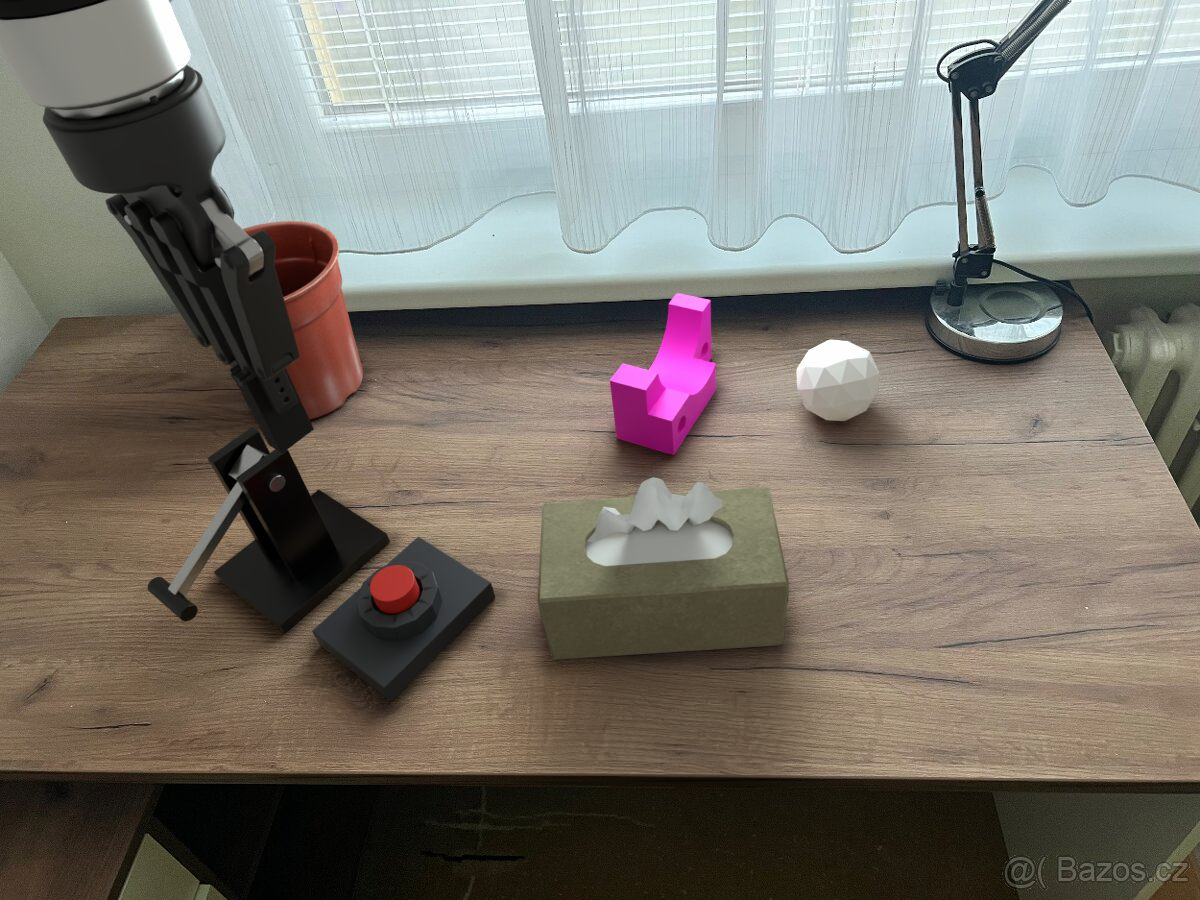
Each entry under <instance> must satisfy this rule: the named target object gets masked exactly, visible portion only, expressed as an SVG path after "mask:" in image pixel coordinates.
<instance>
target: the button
mask: <svg viewBox="0 0 1200 900" xmlns="http://www.w3.org/2000/svg"><path fill="white" fill-rule="evenodd" d="M370 592H371V595H372V597H373V599H374V601H375V603H376V605H377V607H378V608H379V609H380V610H381V611H383V612H385V613H388V614H397V613H401V612H404V611H406V610H408V609H409V608H411V607H412V606H413V605H414V604H415V602H416V601H417V599H418V597H419V586H418V584H417V581H416V579H415V576H414V574H413V572H412V571H411V570H410V569H409V568H407V567H405V566H401V565H394V566H389V567H386V568H384V569H382V570H381V571H379V572H378V573H377V574H376V575H375V576H374V578H373V579H372V581H371V584H370Z"/></svg>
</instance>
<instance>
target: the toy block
mask: <svg viewBox="0 0 1200 900" xmlns="http://www.w3.org/2000/svg"><path fill="white" fill-rule="evenodd" d="M711 302H712V300H711V299H706V298H702V297H699V296H698V297H697V296H692V295H689V294H688V295H687V294H684V293H679V292H676V294H675V295H674V296H673V297H672V299H671V300H670V301H669V303H668V312H667V321H666V326H665V331H664V334H663V338H662V342H661V344H660V347H659V350H658V353H657V355H656V356H655V359H654V360H653V362H652V364H651V365H650V367H649V369H646V368H641V367H638V366H634V365H630V364H626V363H622V364H621V365H620V366H619V368H618V369H617V371H615V373H614V374H613V375H612V377H611V378H610V380H609V386H610V395H611V404H612V411H613V421H614V428H615V435H616V439H618V440H622V441H625V442H627V443H631V444H635V445H637V446H642V447H645V448H648V449H651V450H654V451H655V450H656V451H658V452H661V453H664V454H667V455H672V456H675V454H676V453H677V451H678V450H679V449H680V447H681V445H682V443H684V440H685V439H686V437H687V436H688V434H689V433H690V432H691V430H692V428H693V427H694V425H695V423H696V422H697V420H698V419H699V417H700V416H701V414H702V412H703V411H704V410H705V408H706V406H707V405H708V403H709V401H710V400H711V398H712V397H713V395H714V394H715V392H716V390H717V371H716V370H717V363H715V362H712V361H711V359H712V306H711V305H712V304H711Z"/></svg>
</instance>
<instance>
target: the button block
mask: <svg viewBox="0 0 1200 900" xmlns="http://www.w3.org/2000/svg"><path fill="white" fill-rule="evenodd" d="M394 565H401V566H405V567H407V568H409V569H410V570H411V571H412V572H413V574H414V576H415V579H416V581H417V584H418V586H419V597H418V599H417V601H416V602H415V604H414V605H413V606H412V607H411V608H409V609H408V610H406V611H404V612H401V613H397V614H388V613H385V612H383V611H381V610H380V609H379V608H378V607H377V605H376V603H375V601H374V599H373V597H372V595H371V592H370V584H371V581H372V579H373V578H374V576H375V575H376V574H377V573H378V572H379V571H381V570H382V569H384V568H386V567H389V566H394ZM495 599H496V595H495V591H494V587H493V584H492V582H491V581H490V580H488V579H486V578H485V577H483V576H482V575H480V574H479V573H477V572H475V571H474V570H472V569H471V568H469V567H467V566H466V565H465V564H463V563H461V562H460V561H458V560H457V559H456V558H455V559H454V558H453V557H451V556H450V555H449V554H447V553H445V552H443V551H442V550H440V549H439V548H437V547H436V546H434V545H433V544H431V543H429V542H428V541H427V540H425V539H424V538H422V537H420V536H417V537H416V538H415V539H414V540H412V541H411V542H410V543H409V544H408V545H407V546H406V547H405V548H403V549H402V551H400V552H399V553H398V554H397V555H395V557H393V558H392V559H391V560H390V561H389V562H388V563H386V565H384V566H382V567H379V568H377V570H375V571H374V572H373V573H372V574H371V575H370V576H369V577H367V578H366V579H365V580H364V581H363V582H362V584H361V586H360V588H358V589H357V590H356V591H355V592H354V593H353V594H352V595H350V597H348V598H347V599H346V600H345V601H344V602H342V604H340V605H339V606H338V607H337V608H336V609H335V610H334V611H333V612H331V614H329V615H328V616H327V617H326V618H325V619H324V620H323V621H321V622H320V623H319V624H318V625H317V626H316V627H315V628H313V629H312V630H311V632H312V634H313V637H314V638H315V639H316V640H317V643H318V644H319V646H320V647H321V648H322V649H324V650H325V651H326V652H328V653H329V654H330V655H331V656H332V657H334V658H335V659H336V660H338V661H339V662H340V663H341V664H342V665H344V666H345V667H346V668H348V669H349V670H350V671H351V672H353V673H354V674H355V675H356V676H358V678H360V679H362V681H364V682H365V683H367V684H368V685H369V686H370V687H372V688H373V689H374V690H375V691H377V692H378V693H379V694H380V695H382V696H383V697H384V698H385V699H387V700H388V701H389V702H393V701H394V700H395V699H396V698H398V696H399V695H400V694H401V693H402V692H403V691H404V690H405V689H406V688H407V687H408V686H409V685H410V684H411V683H412V682H413V681H414V680H415V679H416V678H417V677H418V676H419V675H420V674H422V672H423V671H424V670H425V669H426V668H427V667H428V666H429V665H430V664H431V663H432V662H433V661H434V660H435V659H436V658H438V656H440V655H441V653H442V652H443V651H444V650H445V649H446V648H447V647H448V646H449V645H450V644H451V643H452V642H454V641H455V639H456V638H457V637H458V636H459V635H460V634H461V633H462V632H463V631H464V630H465V629H466V628H467V627H468V626H469V625H471V623H472V622H474V621H475V619H477V618H478V616H479V615H480V614H481V613H482V612H483V611H484V610H485V609H487V608H488V606H489V605H490V604H491V603H492V602H493V601H494V600H495Z"/></svg>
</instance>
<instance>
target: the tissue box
mask: <svg viewBox="0 0 1200 900" xmlns="http://www.w3.org/2000/svg"><path fill="white" fill-rule="evenodd" d="M539 544H540V545H539V564H538V565H539V566H538V584H537V585H538V586H537V605H538V609H539V613H540V617H541V620H542V623H543V628H544V631H545V636H546V639H547V643H548V648H549V651H550V655H551V658H552V659H553V660H568V659H569V660H570V659H583V658H584V659H586V658H602V657H615V656H617V657H618V656H631V655H646V654H647V655H648V654H662V653H663V654H665V653H680V652H695V651H708V650H709V651H711V650H725V649H740V648H743V649H744V648H757V647H772V646H773V647H774V646H782V645H783V644H784V643H785V634H786V622H787V610H788V602H789V590H790V589H789V588H790V582H789V577H788V572H787V568H786V563H785V557H784V553H783V547H782V543H781V539H780V533H779V529H778V523H777V518H776V513H775V509H774V503H773V499H772V493H771V488H769V487H768V486H762V487H761V486H759V487H747V488H746V487H745V488H732V489H720V490H718V489H717V490H711V489H710V488H709V486H708V485H707V484H706V483H705V482H700V481H696V482H695V483H694V485H693V486H692V487H691V489H690V490H689V491H688V492H680V493H679V492H678V493H671V491H670V489H669V488H668V486H667V485H666V483H665V481H664V480H663V479H661V478H657V477H654V476H652V477H650V478H648V479H645V480H644V481H642V482H641V484H640V485H639V488H638V490H637V492H636V495H635V496H627V497H613V498H600V499H587V500H574V501H561V502H559V501H558V502H546V503H544V504H543V505H542V506H541V524H540V542H539Z"/></svg>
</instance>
